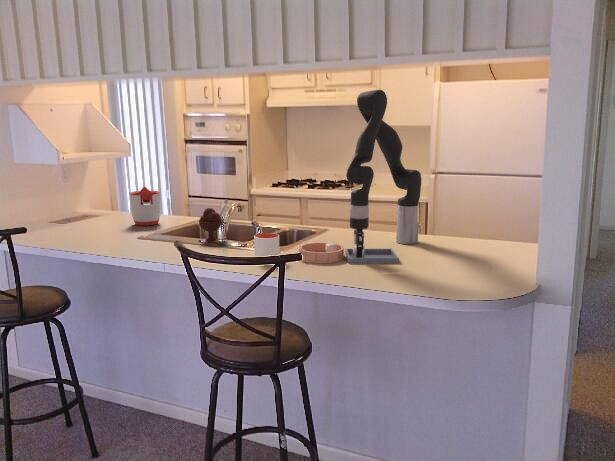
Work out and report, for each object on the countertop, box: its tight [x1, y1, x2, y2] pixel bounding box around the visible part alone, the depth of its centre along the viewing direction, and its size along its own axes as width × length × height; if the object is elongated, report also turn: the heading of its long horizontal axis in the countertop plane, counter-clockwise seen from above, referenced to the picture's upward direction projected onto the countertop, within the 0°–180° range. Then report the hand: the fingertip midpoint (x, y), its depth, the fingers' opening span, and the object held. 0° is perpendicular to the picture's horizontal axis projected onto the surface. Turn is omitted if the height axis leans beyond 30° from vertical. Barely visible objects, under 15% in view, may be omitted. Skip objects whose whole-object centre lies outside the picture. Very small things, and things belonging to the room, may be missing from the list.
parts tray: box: [344, 248, 399, 264], centre depth 227 cm, size 20×16×2 cm
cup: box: [253, 232, 280, 257], centre depth 226 cm, size 10×10×10 cm
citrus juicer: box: [129, 186, 161, 227], centre depth 295 cm, size 16×17×20 cm
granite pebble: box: [352, 244, 365, 258], centre depth 226 cm, size 5×5×5 cm
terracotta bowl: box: [298, 241, 345, 264], centre depth 228 cm, size 18×18×4 cm
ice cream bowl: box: [198, 207, 223, 243], centre depth 259 cm, size 11×11×15 cm
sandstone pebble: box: [325, 242, 338, 252], centre depth 228 cm, size 5×5×5 cm
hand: (358, 257), depth 227 cm, fingers closed on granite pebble, 4 cm apart
